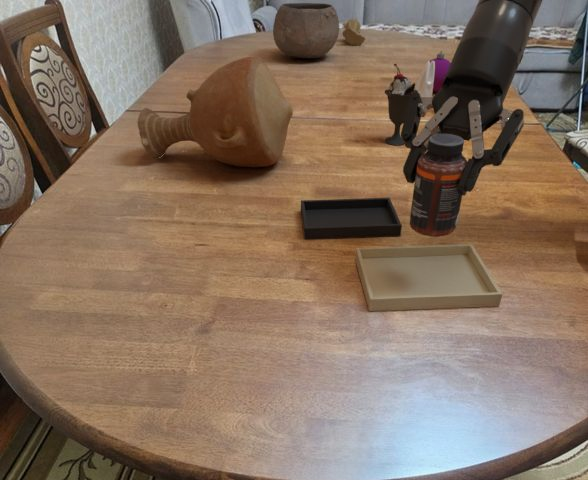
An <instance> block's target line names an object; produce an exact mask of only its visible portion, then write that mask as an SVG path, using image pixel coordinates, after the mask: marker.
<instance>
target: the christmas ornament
mask: <svg viewBox="0 0 588 480" xmlns="http://www.w3.org/2000/svg"><path fill="white" fill-rule="evenodd" d="M431 61H434V62H435V73H434V82H433V92H432V93H438V92H439V90H440V89H441V87H442V85H443V82H444V79H445V76H446V74H447V71H448V69H449V67H450V64H451V61H449V60H448V59H447V58H445V54H444V53H443V50H442V49H440V52H439V53H436V57H435V58H431V59H430V60H429V62H430V63H431Z"/></svg>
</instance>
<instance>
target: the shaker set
mask: <svg viewBox="0 0 588 480" xmlns="http://www.w3.org/2000/svg"><path fill="white" fill-rule="evenodd" d="M429 61H430V60H429ZM429 61H427V62H426V63H425V65H424V66H423V68H422V70H421V72H420V73H419V76H418V78H417V81H416V83H415V88H414V90H417V91H418V93H419V94H420V96H421V97H433V93H434V92H433V82H434V73H435V62H434V61H431V63H430V62H429Z"/></svg>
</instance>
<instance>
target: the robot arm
mask: <svg viewBox="0 0 588 480" xmlns="http://www.w3.org/2000/svg"><path fill="white" fill-rule="evenodd" d="M543 1H544V0H478V2H477V4H476V7H475V8H474V11H473V13H472V14H471V17H470V18H469V20H468V22H467V24H466V25H465V28H464V30H463V32H462V35H461V37H460V40H459V42H458V45H457V47H456V50H455V52H454V54H453V57H452V59H451V61H450V63H451V64H450V67H449V69H448V71H447V74H446V76H445V79H444V82H443V85H442V87H441V89H440V90H439V92H435V94H434V95H433V96H432V97H421V96H420V94H419V93H418V92H415V93H413V94H412V95H411V96H410V100H409V104H408V108H407V112H406V116H405V120H404V123H403V124H402V127H401V130H400V136H401V137H402V140H403V142H404V147H405V148H407V149H410V150H409V152H408V155H407V157H406V159H405V162H404V165H403V166H402V172H403V174H404V178H405V180H406V182H407V183H410V184H415V176H416V170H417V163H418V160H419V158H420V157H421V156H422V155H423V154H425V153H426V152H427V151H428V149H427V147H428V142H429V138H430V137H431V136H433V135H436V134H452V135H457V136H459V137H461V138H462V139H463V140H464V141H468V142H469V141H470V140H471V149H472V156H471V158H470V157H469V158H468V160H467V164H466V167H465V169H464V172H463V174H462V176H461V179H460V181H459V184H458V187H457V191H458V194H459V195H462V197H463V196H466V194H467V192H468V193H471V192H472V191H473V190H474V189H475V186H476V183H477V181H478V179H479V176H480V174H481V171H482V169H483V168H484V167H485V166H490V165H491V166H494V167H499V166H501V165H502V163H503V162H504V160H505V159H506V157H507V155H508V154H509V152H510V150H511V148H512V146H513V145H514V143H515V142H516V140H517V138H518V136H519V134H520V133H521V131H522V130H523V128H524V125H525V114H524V110H523V109H521V108H516V109H514V110H509V109H508V108H507V109H506V108H504V101H505V99H506V97H507V95H508V92H509V89H510V88H511V85H512V83H513V80H514V78H515V75H516V72H517V70H518V67H519V66H520V65H521V62H522V60H523V58H524V54H525V51H526V48H527V45H528V42H529V38H530V35H531V30H532V28H533V26H534V23H535V21H536V18H537V16H538V13H539V11H540V8H541V6H542V3H543ZM431 109H433V113H434V114H433V115H432V117H431V118H430V119H429V120H428V121H426V123H425V124H424V128H422V130H421V131H420V132H419V133H418V131H419V127H420V123H421V119H422V118H424V117H425V116H426V115H427V113H428V111H429V110H431ZM500 121H501V123H500V126H501V127H500V128H501V131H500V133H499V135H498V137H497V138H496V141H495V142H494V144H493V145H492V147H491V148H489V149H485V141H484V133H485V132H487V130H489V129H490V128H491V127H493V126H494V125H495V124H497V123H498V122H500Z"/></svg>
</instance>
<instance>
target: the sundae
mask: <svg viewBox="0 0 588 480" xmlns="http://www.w3.org/2000/svg"><path fill="white" fill-rule="evenodd" d="M393 66H394V67H395V68H396V70H397V72H396V75H394V76H393V81H392V82H391V83H389V84H390V85H389V86H388V89H385V90H384V94H385V95H386V96H387V103H388V105H387V106H388V118H389V120H390V122H391V123H392V124H393V125H394V131H393V134H392V135H391V136H388V137H386V138H385V139H384V142H385V144H388V145H391V146H403V145H404V146H405V144H404V142H403V140H402V137H401V126H403V123H404V120H405V116H406V112H407V108H408V104H409V100H410V96H411V95H412V94H413V93H415V92H418V91H417V90H414V89H415V87H416V83H415V82H414V83H412V81H411V80H410V79H409V78H408V77H407V76H404V74H403V73H401V71H400V68H399V66H398V64H397V63H394V64H393Z"/></svg>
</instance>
